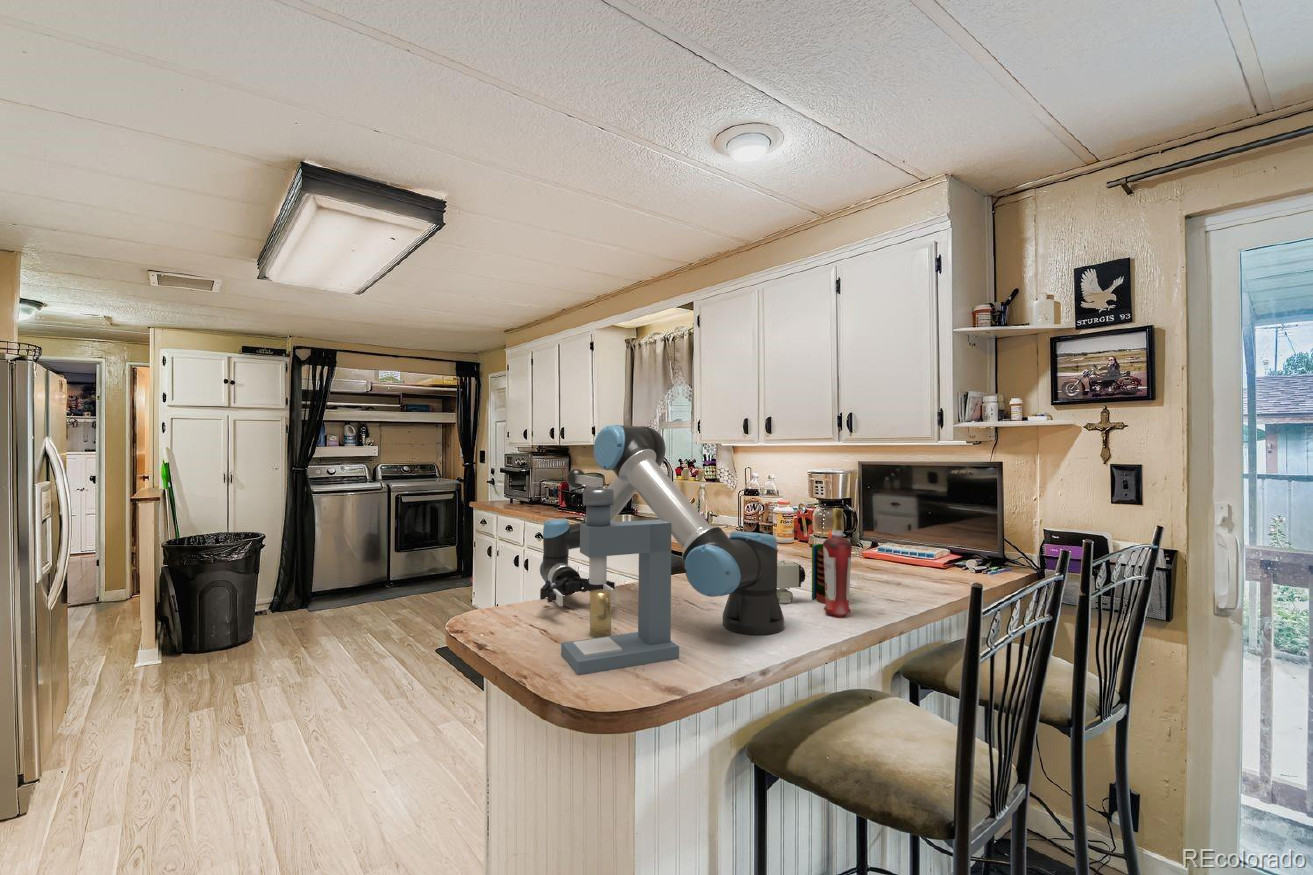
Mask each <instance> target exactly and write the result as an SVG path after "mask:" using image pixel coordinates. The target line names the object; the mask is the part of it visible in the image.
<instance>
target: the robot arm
mask: <svg viewBox="0 0 1313 875" xmlns="http://www.w3.org/2000/svg"><path fill="white" fill-rule="evenodd" d="M665 442H666V441H665V440H664V438H663V436H662V435H661V434H660V432H658V431H657V430H656V429H655V428H652V427H650V426H645V425H644V426H641V425H639V426H638V425H621V424H620V425H619V424H614V425H607V426H605V427H603V428H602V429H601V430H600V431H599V432H598V433H597V435H596V437H595V440H594V442H593V443H594V444H593V456H594V457H593V458H594V461H595V463H596V465H597V466H598V467H599V468H600V469H602V470H605V471H612V472H613V473H614V474H615V475H616V476H615V477H614V478H613V480H612V481H611V482H610V484H609V485H608V487H607V488H606V489H613V490H614V505H610V522H614V520H615V519H616V518H617V517H618V515H619V514H620V513H621V512H622V510H623V509H624V508H625V506H626V505H627V504H628V502H629V501H630V500H631V499H632V497H633V496H634V495H635V494H636V492H637V494H638V495H639V496H640V497H641V498H642V500H643V501H644V503H646V505H647V506H648V507H649V508H650V510H651V511H652V512H653V513H654V515H655V516H656V518H658V520H663V521H666V522H670V523H671V537H673V538H674V539H675V541H676V543H678V544H679V546H680V547H681V548H682V555H681V558H682V560H683V562H684V570H686V572H685V576H686V579H687V580H688V582H689V584H690V586H691V587H692V588H693V589H694V590H695V592H697V593H698V594H701V595H703V596H706V597H711V598H714V597H715V598H716V597H724V596H727V597H728V598H727V599H726V603H725V606H724V609H723V612H722V617H721V618H722V619H721V620H722V623H721V624H722V626H723V627H724V628H725V629H726V630H729V631H732V632H736V633H740V634H745V635H772V634H777V633H779V632H781V631H783V630H784V628H785V617H784V614H783V610H782V608H781V604H779V601H778V597H777V589H778V588H777V563H778V552H779V549H778V541H777V540H778V539H777V538H776V537H775V536H774V535H773V534H769V533H759V532H752V531H751V532H750V531H741V530H739V531H738V530H737V531H736V530H734V531H732V530H731V532H730V533H729V536H728V535H727V534H726V532H725V531H724V530H723V529H722V528H721V526H715V525H710V524H709V523H708V521H707V520H706V519H705V517H703V515H702V514H701V513H700V511H699V510H697V509H696V507H695V506H694V505H693V504H692V503H691V501H690V500H689V499H688V498H687V497H686V496H685V495H684V492H682V491H681V489H679V488H678V486H677V485H676V484H675V483H674V482H673V481H672V479H671V478H670V477H669V475H667V473H666V472H665V471H664V469H662V468H661V466H662V464H663V462H664V460H665V458H666V449H667V448H666V447H667V446H666V444H665ZM569 523H570V522H569V520H567V519H564V518H552V519H546V520H545V521H544V523H543V528H542V529H543V530H542V541H543V542H542V546H543V549H542V550H543V551H542V552H543V554H542V562H541V563H540V566H539V574H540V576H541V579H542V580H543V581H544V582H545V584H544V585H543V586H542V587H541V588H540V590H539V591H540V592H539V594H540V595H539V596H540V597H539V599H540V600H541V601H543V600H545V599H546V598H547V602H548V603H553V601H554V602H555V603H556V604H557V605H558V606H559V607H563V606H564V600H563V599H564V596H571V595H574V594H575V593H578V592H581V593H586V592H590V591H592V590H598V589H606V590H610V591H611V602H612V601H615V594H616V593H615V588H616V583H615V582H614V581H610V580H607V581H606V584H602V585H593V584H590V583H589V578H583V577H581V575H580V574H579V572H578V571H577V570H576V569H574V568H573V567H572V566H570V565H569V554H570V552H569V550H573V549H574V550H575V549H580V524H586V516H585V517H584V518H583V520H582V521H581V522H578V523H570V524H569Z"/></svg>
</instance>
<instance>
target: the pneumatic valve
mask: <svg viewBox="0 0 1313 875" xmlns="http://www.w3.org/2000/svg"><path fill="white" fill-rule="evenodd" d="M805 580H806V571H805V569H804V567H803V566H802V565H801V564H799V563H797V562H795V561H790V562H789V561H787V562H786V560H784V559H781V562H777V597H778V601H779V604H780V605H783V604H791V603H792V601H793V599H794V595H793V592H792V591H790V589H791V588H792V589H793V588H801V587H802V583H804V582H805Z"/></svg>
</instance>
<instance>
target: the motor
mask: <svg viewBox="0 0 1313 875" xmlns="http://www.w3.org/2000/svg"><path fill="white" fill-rule="evenodd" d="M827 532H828V533H827V539H830V538H832V529H831V530H830V529H829V530H828V531H827ZM811 601H816V602H818V603H820V604H823V605H825V573H824V552H823V543H817V544H813V545H812V546H811Z"/></svg>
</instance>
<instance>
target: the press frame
mask: <svg viewBox="0 0 1313 875" xmlns="http://www.w3.org/2000/svg"><path fill="white" fill-rule="evenodd" d="M585 506H586V508H585V509H586V510H585V511H586V512H585V514H586V515H585V517H586V524H580V548H579V553H580V554H582V555H583V556H586V557H587V558H588V560H589V561H588V563H589V564H588V565H589V567H588V568H589V569H588V575H589V576H588V580H589V583H590V584H593V585H602V584H606V581H608V580H607V578H608V577H607V576H608V575H607V568H608V566H607V565H608V564H607V560H608V559H607V557H611V556H612V557H613V556H624V555H638V604H637V605H638V612H637V613H638V614H637V616H638V617H637V620H638V622H637V624H638V625H637V627H638V628H637V630H638V631H635V632H628V633H620V634H614V635H611V636H606V637H599V638H594V637H592V638H585V639H584V638H583V639H579V640H571V641H565V642H561V644H560V646H561V647H560V649H561V650H560V655H561V656H562V658H563V659H564V660H565V661H566V663H568V665H569V666H570V667H571V669H572V670H573V671H574V672H575V674H576V675H578V676H581V675H586V674H591V673H598V672H604V671H610V670H617V669H623V668H627V667H629V668H630V667H635V666H639V665H646V664H653V663H658V662H666V661H670V660H676V659H680V646H679V645H678V644H676V643H675V642H674V641H673V640H672V638H671V635H672V633H671V632H672V631H671V630H672V629H671V628H672V625H671V624H672V623H671V622H672V621H671V619H672V616H671V615H672V614H671V613H672V535H671V523H670V522H666V521H663V520H659V519H646V520H628V521H612V522H610V505H608V506H588V505H585Z"/></svg>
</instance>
